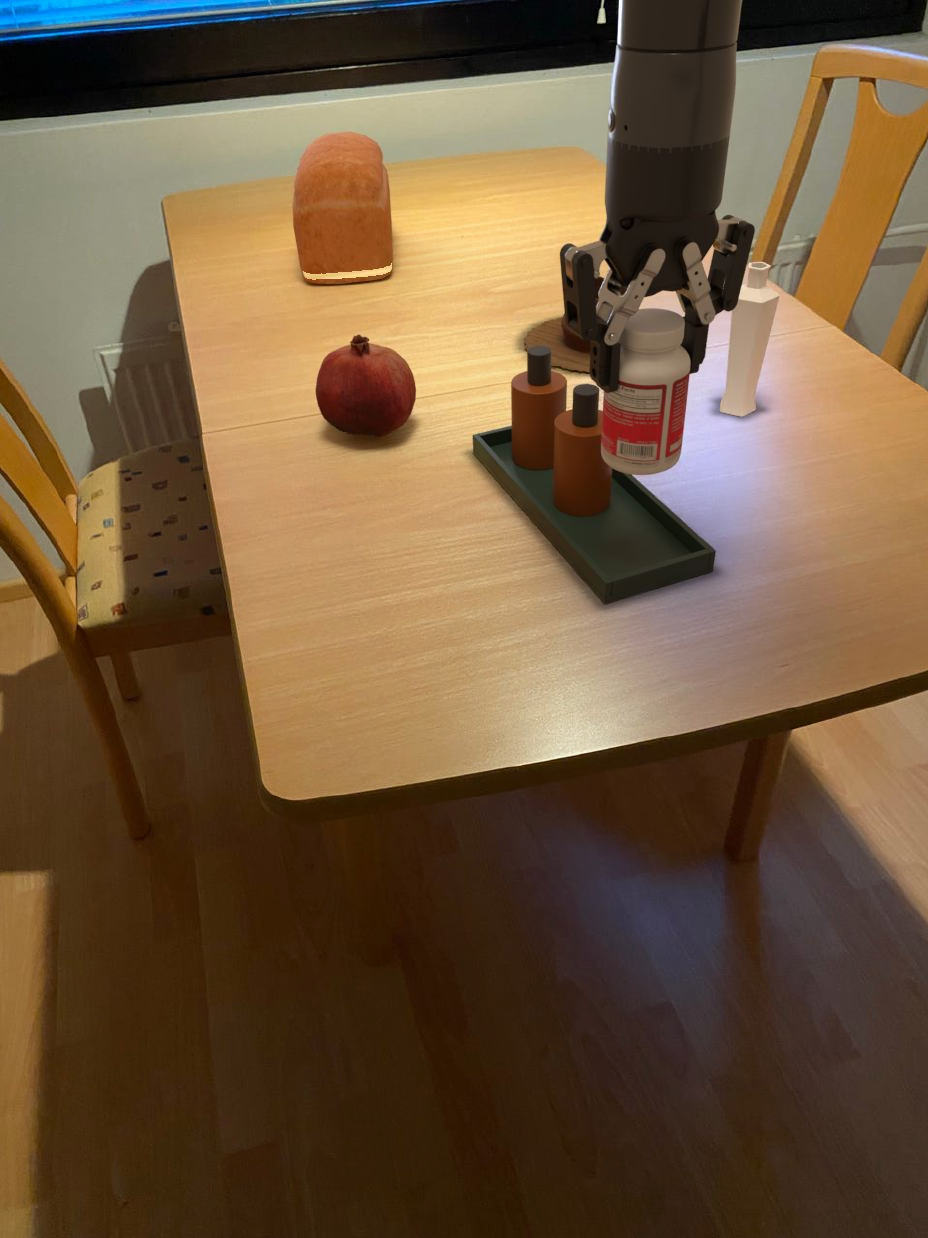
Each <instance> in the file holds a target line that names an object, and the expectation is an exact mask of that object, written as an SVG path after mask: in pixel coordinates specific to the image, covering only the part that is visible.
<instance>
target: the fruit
mask: <svg viewBox="0 0 928 1238" xmlns="http://www.w3.org/2000/svg"><path fill="white" fill-rule="evenodd" d="M315 397H316V403H317V406H318V410H319V412H320V414H321V416H322V417H323V419H324V420H325V421H326V422H327V423H328V424H329V425H330V426H331V427H333V428H334V429H335V430H338V431H339V432H341V433H345V434H348V435H353V436H363V437H364V436H365V437H374V438H375V437H376V438H379V437H384V436H386V435H390V434H391V433H393V432H395V431H397V430H399V429H401V428H402V427H403V426H404V424H405V423H406V422H407V421H408V420H409V419H410V417H411V415H412V412H413V409H414V406H415V404H416V400H417V399H416V398H417V386H416V381H415V377H414V373H413V372H412V369H411V368H410V365H409V364H408V362H407V360H406V359H405V358H404V357H402V356H401V354H399V352H397V351H396V350H394V349H392V348H390V347H387V346H383V345H380V344H375V343H372V342H370V338H369V337H368V336H363V335H361V334H357V335H353V337H352V339H351V340H350V342H349V344H347V345H344V346H341V347H339V348H337V349H334V350H332V351H330V352H329V353H327V355H326V356H325V357H324V358H323V360H322V362H321V364H320V367H319V369H318V373H317V377H316V383H315Z"/></svg>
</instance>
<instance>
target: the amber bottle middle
mask: <svg viewBox="0 0 928 1238" xmlns="http://www.w3.org/2000/svg"><path fill="white" fill-rule="evenodd" d="M599 405H600V387H598V386H597V385H595V384H592V383H581V384H577V385H575V386H574V387H573V388H572V406H571V407H572V409H568V410H566V411H565V412H563V413H561V414H559V415H558V416H557V417H556V419H555V424H554V473H553V503H554V505H555V507H556V508H557V509H558V510H560V511H561V512H563V513H566V514H569V515H573V516H591V515H596V514H599V513H601V512H603V511H604V510H606V509H607V508H608V506H609V504H610V496H611V481H612V467H610V466H609V465H608V464H607V463H606V462H605V461H604V459H603V457H602V454H601V437H602V417H603V410H601V409H599Z"/></svg>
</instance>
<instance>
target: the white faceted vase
mask: <svg viewBox="0 0 928 1238" xmlns="http://www.w3.org/2000/svg"><path fill="white" fill-rule="evenodd" d="M747 267H748V273H747V281H746V283H743V284H742V286H741V291H740V295H739V299H738V303H737V305H736V307H735V308H734V309H733V310H732V311H731V314H730V315H731V318H730V328H729V339H728V340H729V341H728V353H727V364H726V376H725V377H726V379H725V389H724V393H723V395H722V398H721V401H720V404H719V412H720V413H722V414H727V415H732V416H736V417H740V418H741V417H742V418H743V417H746V416H747V415H749V414H751V413H753V412H754V411H756V410H757V406H756V405H757V404H756V403H757V402H756V392H757V388H758V383H759V379H760V376H761V372H762V368H763V365H764V364H763V363H764V360H765V357H766V352H767V348H768V344H769V340H770V336H771V332H772V328H773V325H774V320H775V316H776V312H777V309H778V304H779V301H780V296H781V294H779V293H778V292H777V291H775V290H774V289H772V288H770V287H769V286H767V283H768V276H769V270H770V269H771V267H772V265H771V264H769V263H766V262H764V261H753V262H752V261H751V262H748V263H747Z"/></svg>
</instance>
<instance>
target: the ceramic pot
mask: <svg viewBox="0 0 928 1238" xmlns="http://www.w3.org/2000/svg"><path fill="white" fill-rule="evenodd" d="M604 279H605V277H603V276H599V277H598V278H597V279H594V280H595V296H596V306H597V304H598V302H599V296H598V293H599V290H600V288H601V285H602V283H603V281H604ZM626 291H627V289H625V288H624V287H623V286H621V288H620V294H621V295H622V296H623V295H624V294H625V293H626ZM522 344H523V345H524V344H525V345H524V346H523V348H524V349H526V350H528V349H529V348H531V347H534V346H546V347H548V348H550V349H551V367H556V366H557V367H561V369H566V370H567V369H568V370H570V371H574V370H575V371H578V372H587V373H589V369H590V348H591V341H585V340H583V339H582V338H581V337H579V336H578V335H577V334H575V333H574V332H573V331H571V330H570V329H569V328H567V326H566V323H565V312H564V313H563V315H562V317H558V318H555V319H550V320H544V321H543V322H542V323H541V324H539V325H537V326H535V327H532V328H531V329H530V330H528V331H527V332H526V335H525V337H523V343H522Z"/></svg>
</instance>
